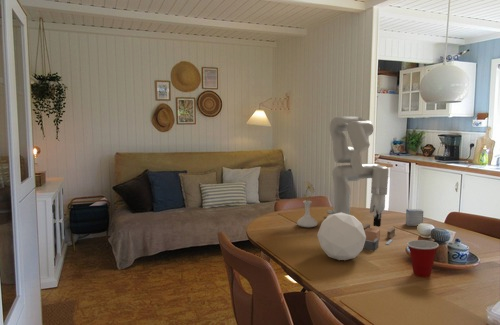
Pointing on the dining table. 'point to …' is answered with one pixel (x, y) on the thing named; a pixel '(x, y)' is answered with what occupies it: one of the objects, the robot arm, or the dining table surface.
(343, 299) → the dining table surface
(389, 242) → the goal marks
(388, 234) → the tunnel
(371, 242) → the trap bay
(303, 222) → the flower in vase
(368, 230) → the block
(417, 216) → the medicine box
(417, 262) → the plastic cup
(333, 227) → the ball
